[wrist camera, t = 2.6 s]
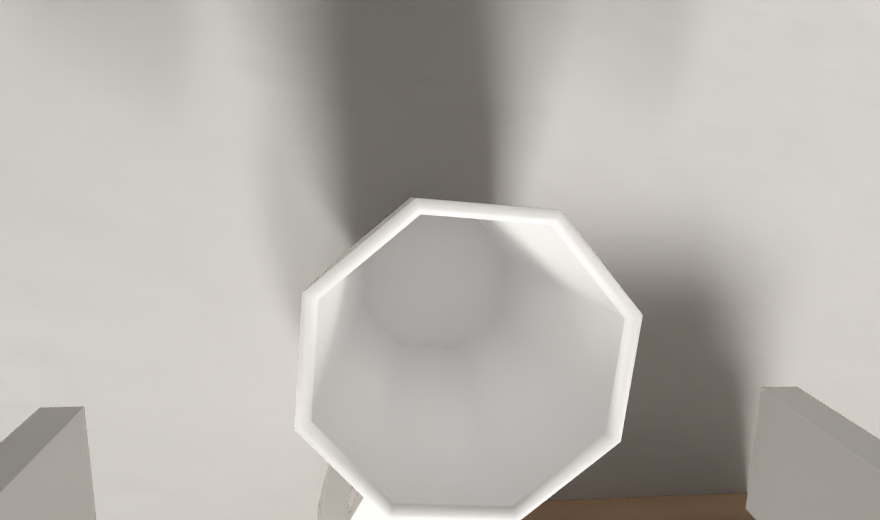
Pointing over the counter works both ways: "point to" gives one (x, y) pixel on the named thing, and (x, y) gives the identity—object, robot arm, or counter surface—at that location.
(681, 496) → the walnut block
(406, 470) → the cup
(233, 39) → the counter surface
